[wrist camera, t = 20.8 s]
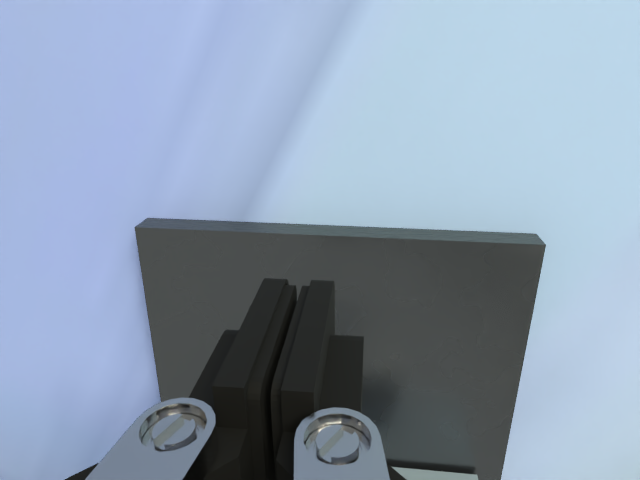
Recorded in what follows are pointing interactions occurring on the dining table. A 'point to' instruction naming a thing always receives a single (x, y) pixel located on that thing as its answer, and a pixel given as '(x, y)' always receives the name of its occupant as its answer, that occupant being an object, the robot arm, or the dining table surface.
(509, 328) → the panel
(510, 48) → the dining table surface
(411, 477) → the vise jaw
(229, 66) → the dining table surface
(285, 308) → the robot arm
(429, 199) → the dining table surface
